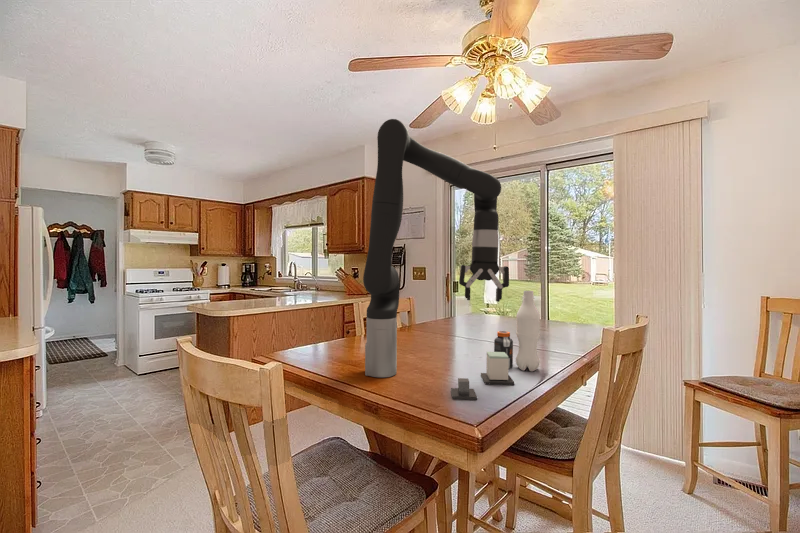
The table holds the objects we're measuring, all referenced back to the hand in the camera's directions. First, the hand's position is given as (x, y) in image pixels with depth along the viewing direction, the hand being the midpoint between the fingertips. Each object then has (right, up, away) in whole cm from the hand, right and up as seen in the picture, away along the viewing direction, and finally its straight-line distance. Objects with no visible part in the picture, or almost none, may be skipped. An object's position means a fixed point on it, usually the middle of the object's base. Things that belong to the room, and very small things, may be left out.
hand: (483, 300), depth 111 cm
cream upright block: (+3, -22, -3) cm, 22 cm away
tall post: (+3, -23, -2) cm, 23 cm away
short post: (-8, -23, -15) cm, 28 cm away
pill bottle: (+9, -23, +12) cm, 28 cm away
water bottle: (+16, -23, +9) cm, 29 cm away
